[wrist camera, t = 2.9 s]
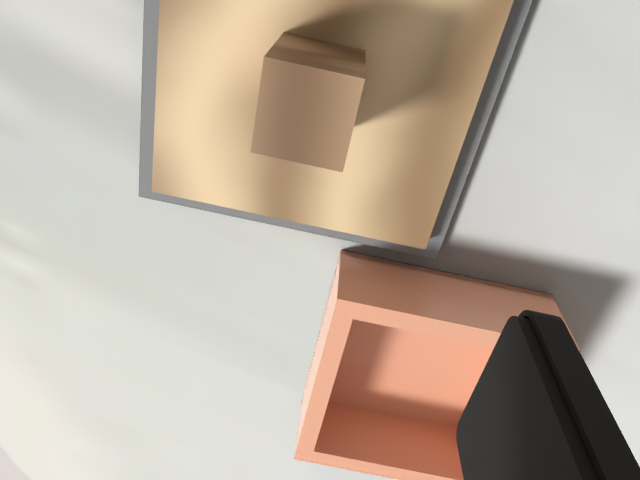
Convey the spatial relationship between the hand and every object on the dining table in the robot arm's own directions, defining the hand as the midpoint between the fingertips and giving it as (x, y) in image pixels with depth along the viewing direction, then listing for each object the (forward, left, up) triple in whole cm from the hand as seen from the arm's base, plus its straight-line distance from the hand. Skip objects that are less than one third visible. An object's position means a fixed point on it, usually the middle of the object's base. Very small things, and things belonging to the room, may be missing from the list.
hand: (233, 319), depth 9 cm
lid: (0, 0, -17) cm, 17 cm away
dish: (-9, +15, -18) cm, 25 cm away
